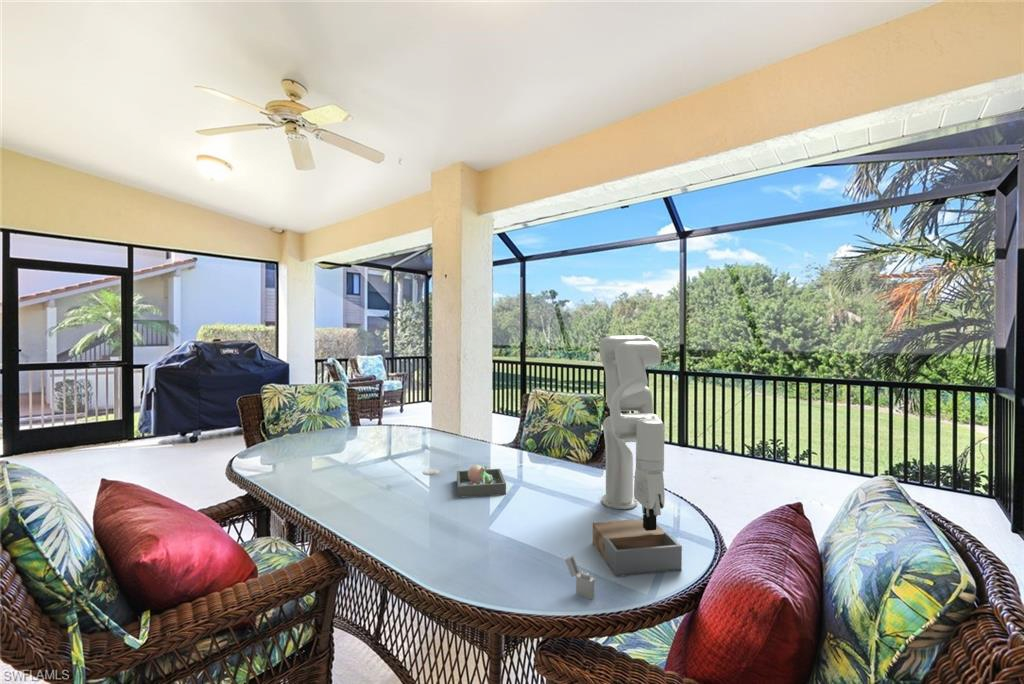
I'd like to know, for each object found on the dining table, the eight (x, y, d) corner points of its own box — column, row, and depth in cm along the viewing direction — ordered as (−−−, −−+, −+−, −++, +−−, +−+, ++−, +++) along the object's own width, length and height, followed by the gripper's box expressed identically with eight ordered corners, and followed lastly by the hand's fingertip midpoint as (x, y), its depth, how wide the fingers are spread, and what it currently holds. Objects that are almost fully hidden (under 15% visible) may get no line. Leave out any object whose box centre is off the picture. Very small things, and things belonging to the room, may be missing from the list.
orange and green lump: (490, 478, 172) (502, 474, 179) (474, 458, 176) (487, 455, 184) (472, 499, 175) (485, 494, 183) (457, 479, 179) (471, 475, 187)
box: (604, 560, 123) (604, 537, 123) (666, 554, 126) (666, 532, 126) (615, 576, 115) (615, 551, 115) (681, 570, 118) (681, 546, 118)
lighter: (594, 596, 107) (594, 563, 107) (591, 599, 106) (591, 566, 106) (568, 585, 112) (568, 554, 111) (565, 589, 110) (565, 556, 110)
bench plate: (592, 542, 133) (592, 522, 133) (650, 538, 136) (650, 518, 135) (604, 560, 123) (604, 538, 123) (666, 554, 126) (666, 533, 126)
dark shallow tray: (456, 480, 187) (456, 471, 187) (500, 478, 189) (500, 468, 189) (458, 497, 169) (458, 486, 169) (506, 494, 172) (505, 483, 171)
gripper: (626, 456, 132) (626, 518, 133) (649, 473, 117) (648, 542, 118) (650, 455, 133) (650, 517, 134) (676, 471, 118) (675, 540, 119)
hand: (649, 528), depth 126 cm, fingers closed
